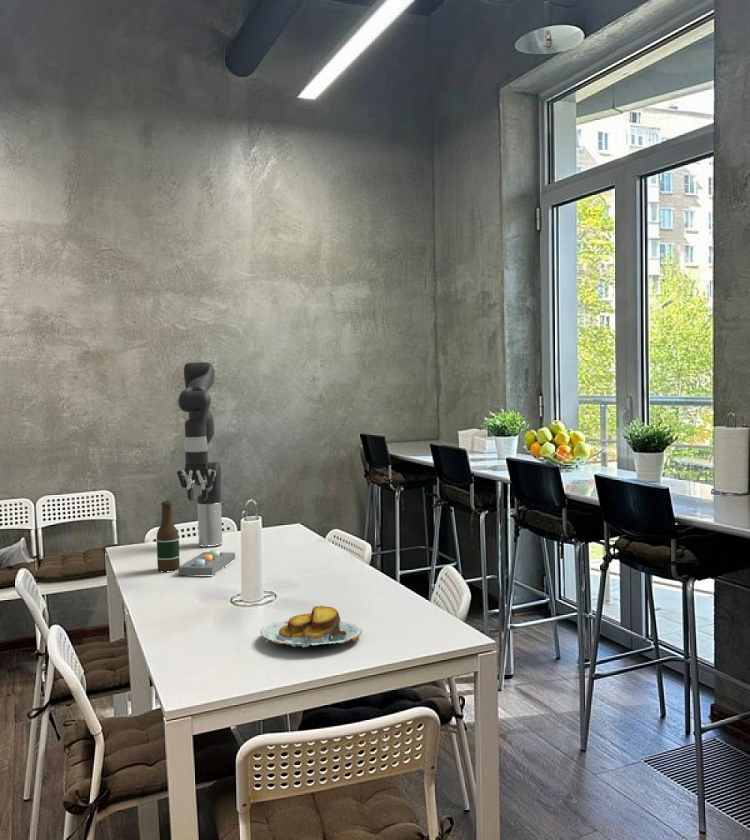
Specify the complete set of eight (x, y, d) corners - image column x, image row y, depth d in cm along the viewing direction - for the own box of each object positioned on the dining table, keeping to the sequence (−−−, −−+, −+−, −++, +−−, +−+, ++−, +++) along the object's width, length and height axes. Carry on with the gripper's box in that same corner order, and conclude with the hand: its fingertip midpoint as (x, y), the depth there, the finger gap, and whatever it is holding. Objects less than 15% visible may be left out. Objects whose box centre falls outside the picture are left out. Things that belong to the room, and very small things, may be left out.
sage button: (211, 558, 278) (211, 549, 277) (221, 558, 277) (221, 550, 277) (208, 560, 274) (207, 552, 274) (217, 560, 273) (217, 552, 273)
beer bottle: (176, 572, 263) (174, 503, 262) (154, 572, 263) (151, 503, 262) (182, 567, 271) (180, 499, 270) (161, 567, 271) (158, 500, 270)
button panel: (203, 560, 281) (203, 552, 281) (235, 560, 279) (235, 552, 279) (178, 575, 259) (178, 567, 259) (212, 576, 257) (212, 567, 257)
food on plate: (243, 637, 196) (242, 612, 196) (323, 618, 212) (323, 594, 211) (296, 665, 176) (296, 637, 176) (381, 641, 192) (380, 615, 191)
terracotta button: (204, 562, 271) (204, 554, 271) (214, 562, 270) (214, 554, 270) (200, 565, 267) (200, 556, 267) (210, 565, 267) (210, 556, 266)
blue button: (196, 567, 264) (196, 558, 264) (206, 567, 263) (206, 559, 263) (192, 570, 260) (192, 561, 260) (202, 570, 260) (202, 561, 259)
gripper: (220, 448, 262) (221, 498, 263) (180, 448, 264) (182, 498, 265) (212, 450, 255) (213, 502, 256) (171, 451, 257) (173, 501, 258)
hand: (197, 499), depth 260 cm, fingers open, 4 cm apart
